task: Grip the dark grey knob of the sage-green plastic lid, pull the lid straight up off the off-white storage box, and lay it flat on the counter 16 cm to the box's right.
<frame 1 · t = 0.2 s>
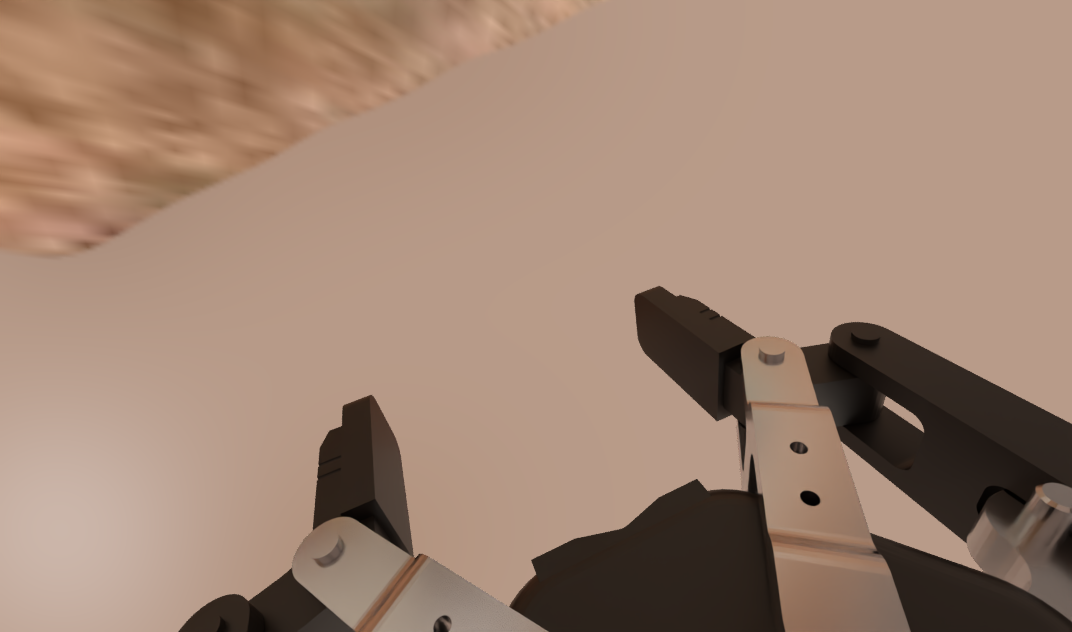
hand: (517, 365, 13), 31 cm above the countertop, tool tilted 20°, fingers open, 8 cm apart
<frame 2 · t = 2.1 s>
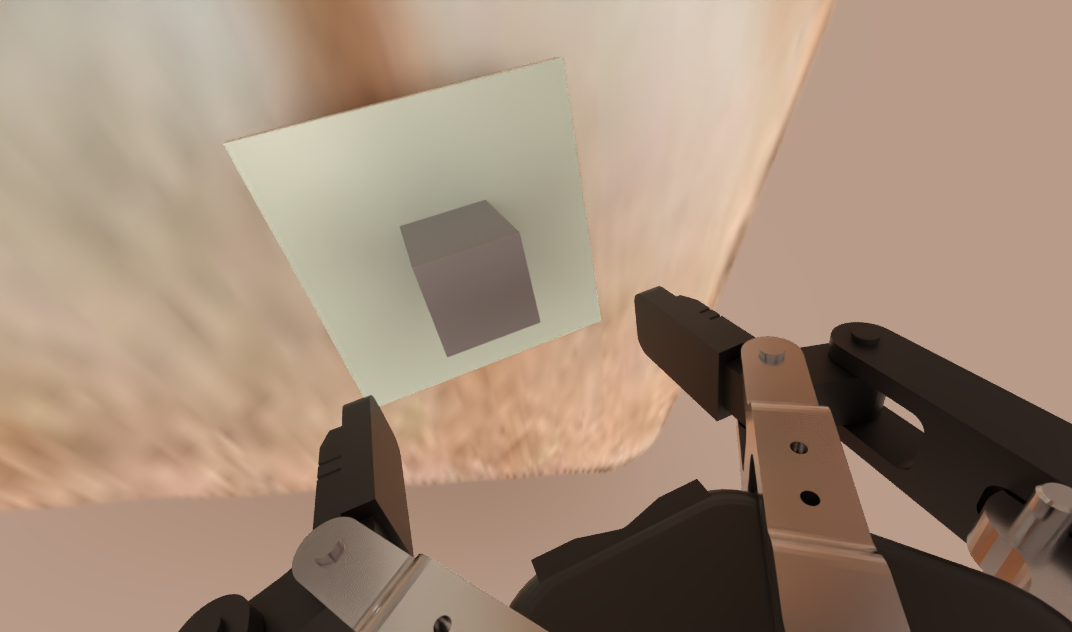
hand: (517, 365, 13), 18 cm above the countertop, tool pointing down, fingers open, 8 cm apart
lid: (452, 246, 22), point 7 cm above the countertop, touching storage box
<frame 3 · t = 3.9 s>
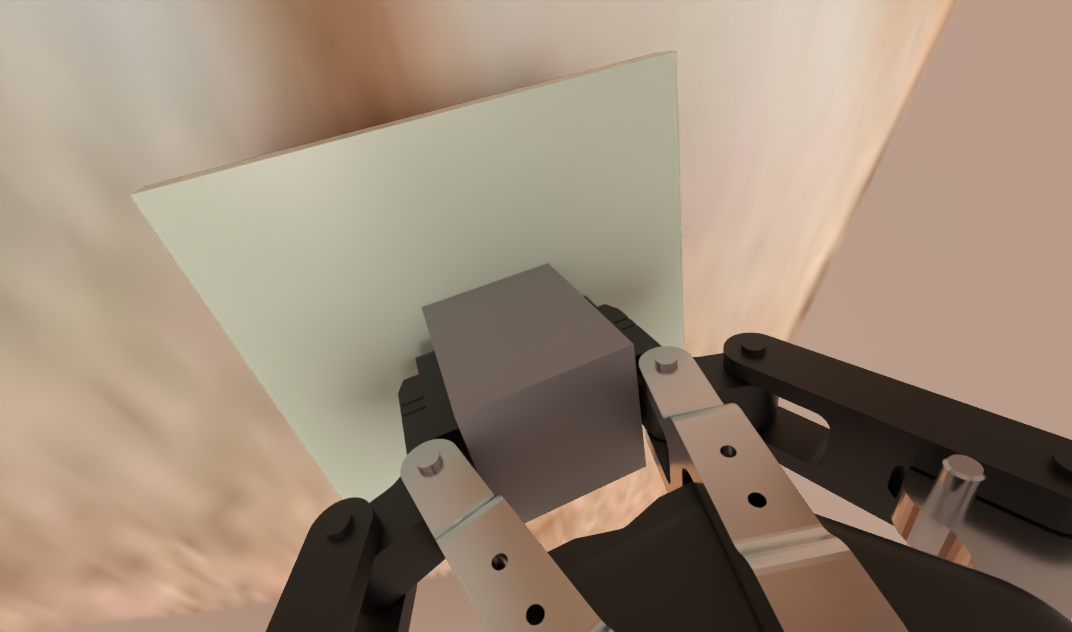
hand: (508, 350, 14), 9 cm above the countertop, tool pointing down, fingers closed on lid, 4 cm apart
lid: (494, 324, 15), point 7 cm above the countertop, touching gripper, storage box
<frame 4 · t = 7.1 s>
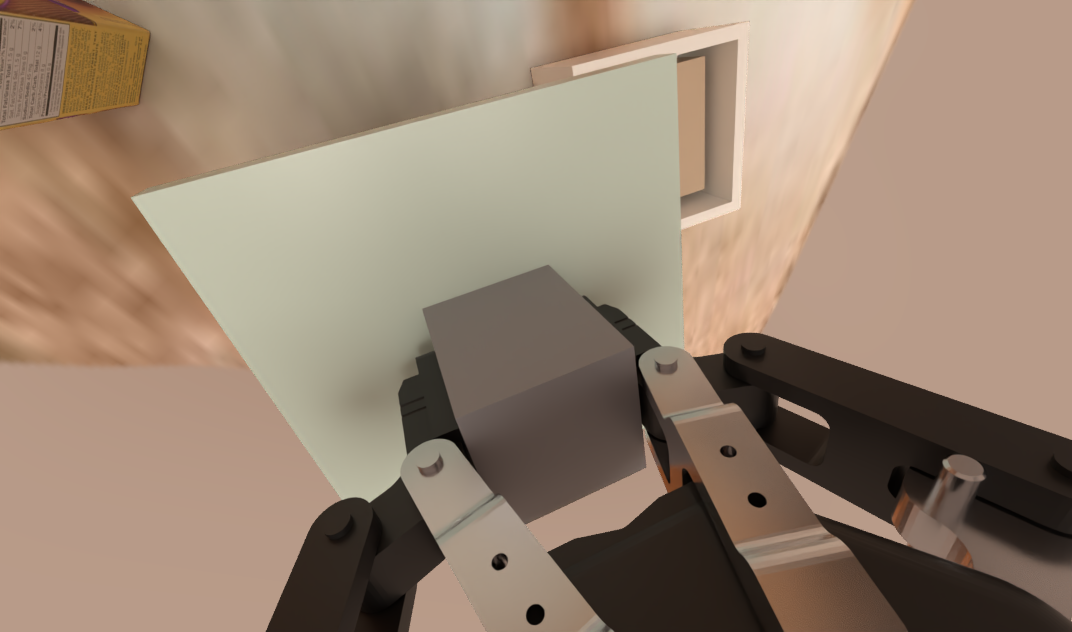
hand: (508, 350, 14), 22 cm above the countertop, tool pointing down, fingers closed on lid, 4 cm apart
candy box: (38, 26, 22), on the countertop
lid: (494, 325, 15), point 20 cm above the countertop, touching gripper
storage box: (616, 136, 35), on the countertop
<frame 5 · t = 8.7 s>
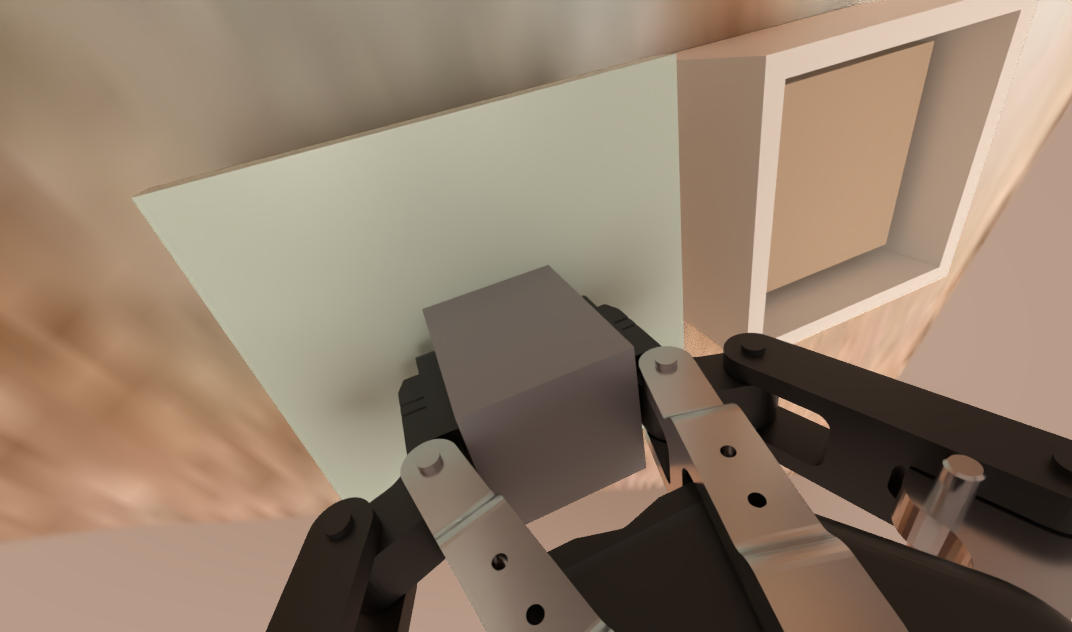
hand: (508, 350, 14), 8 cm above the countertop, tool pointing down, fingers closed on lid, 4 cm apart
lid: (494, 325, 15), point 6 cm above the countertop, touching gripper
storage box: (748, 164, 23), on the countertop
when the fingers open (4 cm above the countertop, at t = 10.2 s): lid drops 2 cm, on the countertop.
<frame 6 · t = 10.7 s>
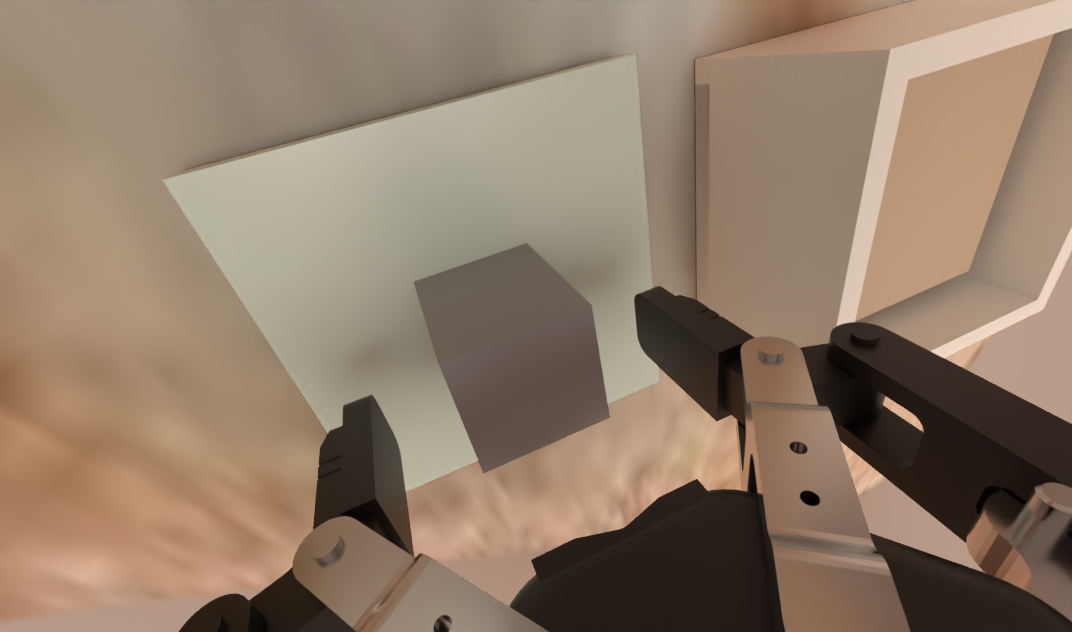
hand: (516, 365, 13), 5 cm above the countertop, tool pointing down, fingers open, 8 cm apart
lid: (480, 299, 17), on the countertop
storage box: (807, 177, 20), on the countertop
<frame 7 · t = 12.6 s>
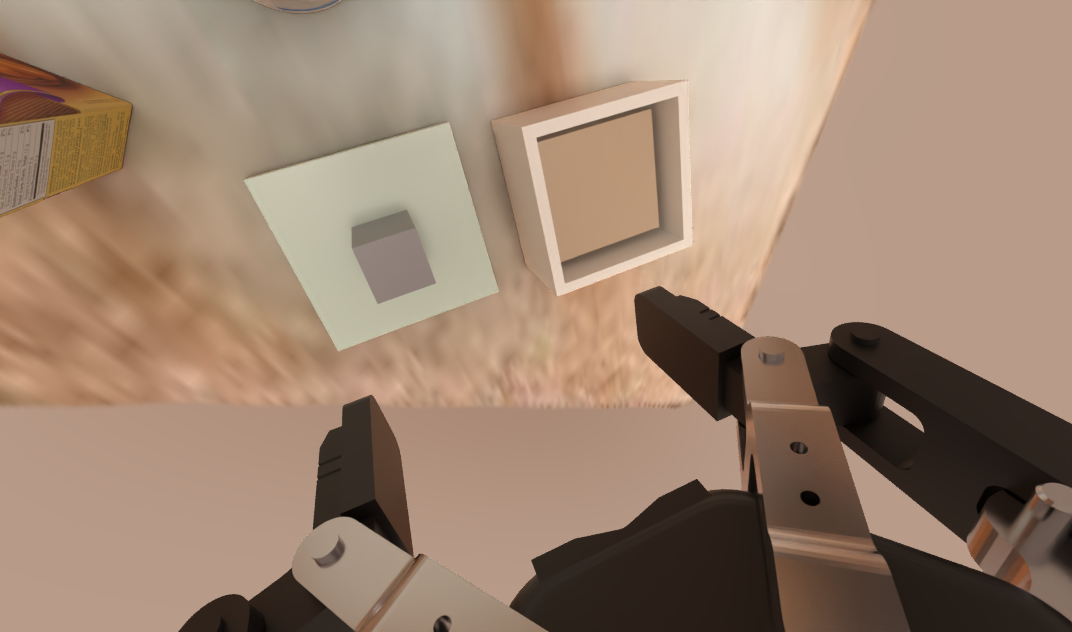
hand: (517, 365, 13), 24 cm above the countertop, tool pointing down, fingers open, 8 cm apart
candy box: (28, 103, 24), on the countertop
lid: (389, 240, 33), on the countertop
storage box: (576, 178, 37), on the countertop
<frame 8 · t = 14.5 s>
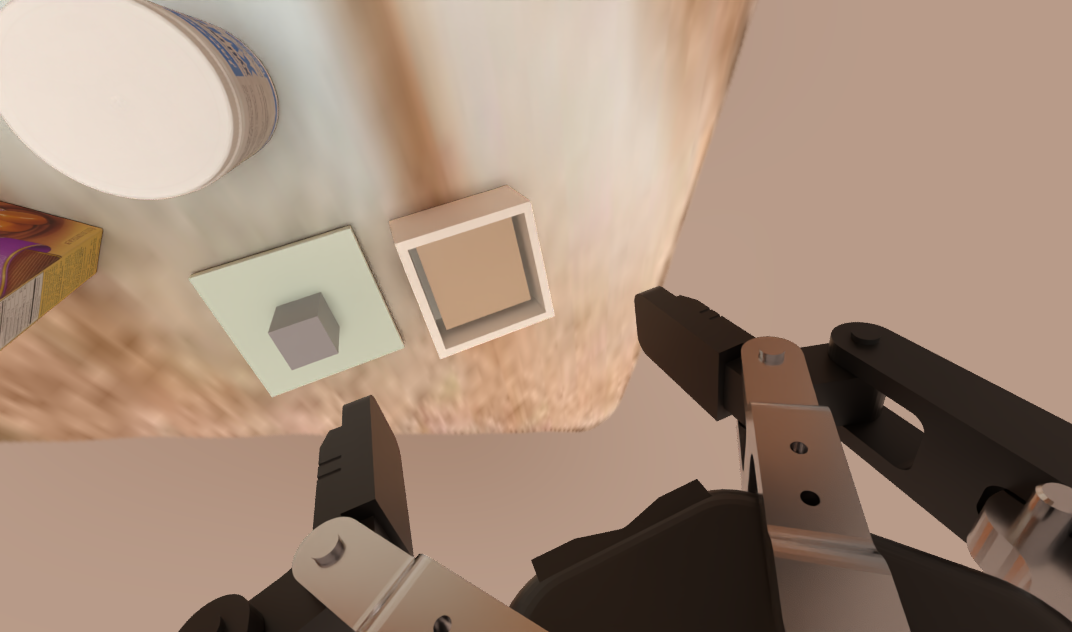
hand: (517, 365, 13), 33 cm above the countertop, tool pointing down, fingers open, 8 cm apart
candy box: (26, 232, 33), on the countertop
lid: (309, 312, 43), on the countertop
supplement tub: (206, 93, 33), on the countertop
storage box: (466, 258, 46), on the countertop
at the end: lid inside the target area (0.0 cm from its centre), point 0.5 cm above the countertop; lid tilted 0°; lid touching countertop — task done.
